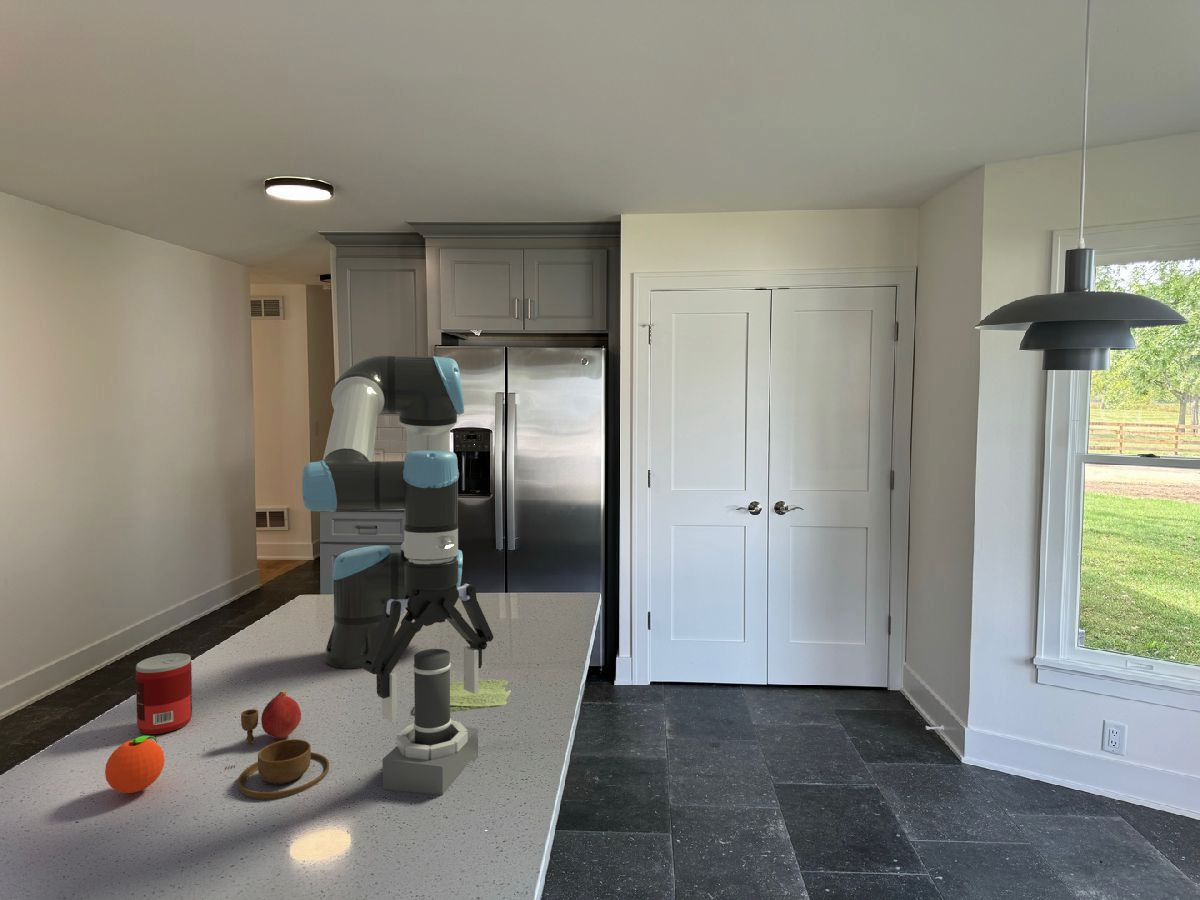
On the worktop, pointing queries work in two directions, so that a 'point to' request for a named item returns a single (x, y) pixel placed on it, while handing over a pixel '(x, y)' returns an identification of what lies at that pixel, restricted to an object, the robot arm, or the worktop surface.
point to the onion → (281, 716)
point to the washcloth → (477, 695)
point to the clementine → (134, 765)
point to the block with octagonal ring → (429, 761)
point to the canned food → (164, 693)
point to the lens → (432, 696)
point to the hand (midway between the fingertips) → (432, 704)
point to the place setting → (278, 762)
